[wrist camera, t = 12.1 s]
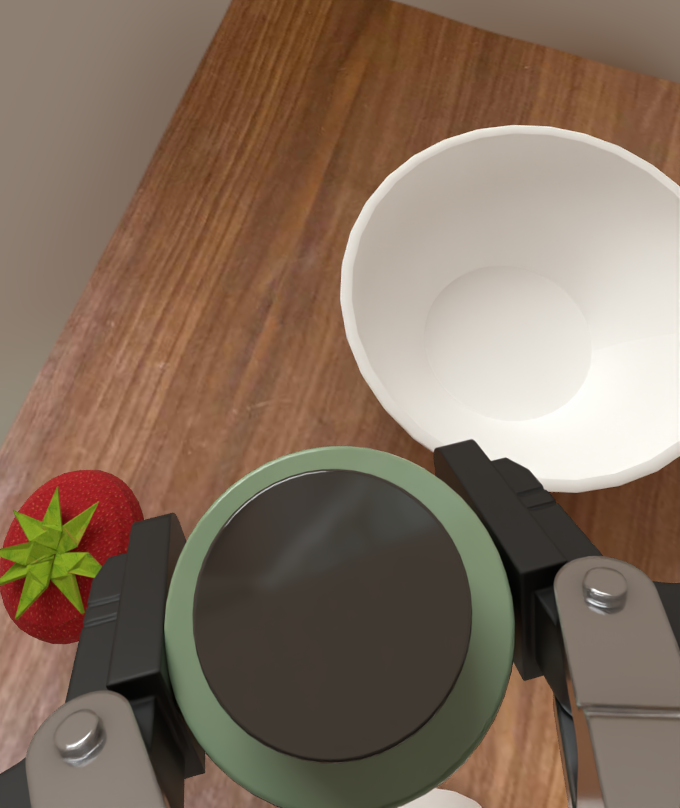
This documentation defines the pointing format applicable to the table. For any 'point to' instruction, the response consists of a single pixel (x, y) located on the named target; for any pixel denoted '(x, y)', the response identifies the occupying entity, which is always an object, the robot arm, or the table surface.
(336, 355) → the table surface
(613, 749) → the robot arm
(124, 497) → the strawberry
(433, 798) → the cup
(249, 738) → the pepper shaker
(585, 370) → the bowl
